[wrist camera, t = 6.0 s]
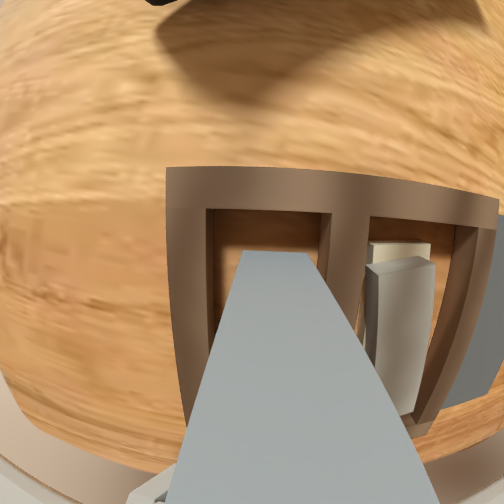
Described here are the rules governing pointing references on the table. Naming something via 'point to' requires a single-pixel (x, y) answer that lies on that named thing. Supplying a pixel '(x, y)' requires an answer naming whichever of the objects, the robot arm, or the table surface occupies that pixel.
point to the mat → (484, 335)
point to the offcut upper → (399, 324)
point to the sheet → (292, 403)
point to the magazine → (159, 2)
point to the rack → (325, 256)
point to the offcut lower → (382, 253)
